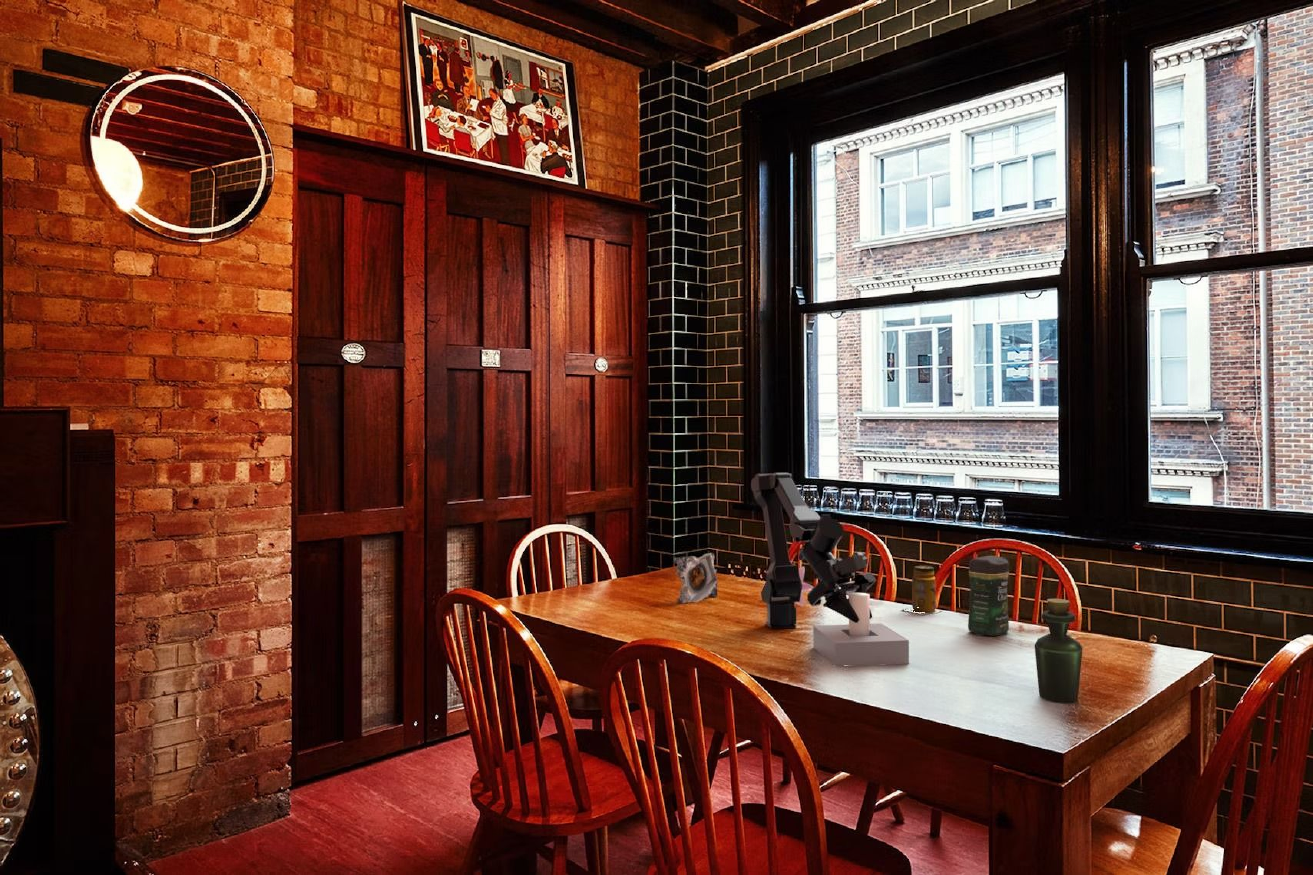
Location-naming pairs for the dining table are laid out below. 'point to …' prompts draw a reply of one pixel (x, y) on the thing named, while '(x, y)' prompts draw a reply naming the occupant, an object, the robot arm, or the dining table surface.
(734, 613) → the dining table surface
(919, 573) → the condiment
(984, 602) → the coffee jar
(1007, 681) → the dining table surface
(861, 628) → the pink cylinder peg
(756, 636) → the dining table surface
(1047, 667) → the potion bottle
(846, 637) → the well block
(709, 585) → the ornate square frame
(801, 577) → the lily
